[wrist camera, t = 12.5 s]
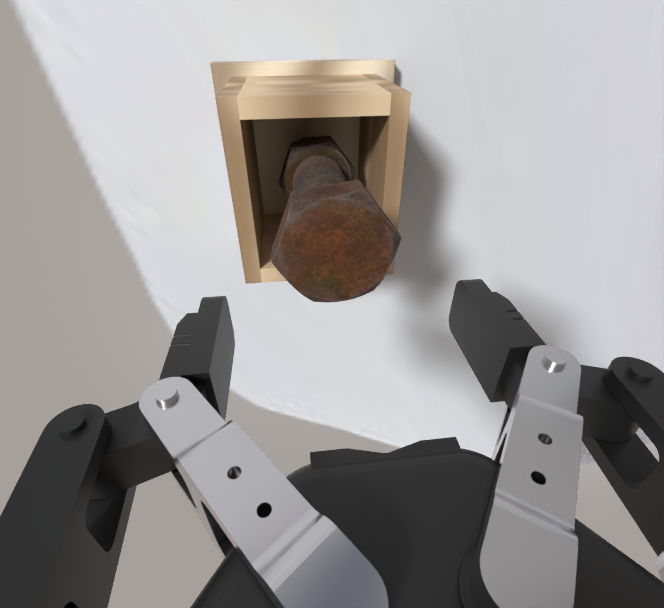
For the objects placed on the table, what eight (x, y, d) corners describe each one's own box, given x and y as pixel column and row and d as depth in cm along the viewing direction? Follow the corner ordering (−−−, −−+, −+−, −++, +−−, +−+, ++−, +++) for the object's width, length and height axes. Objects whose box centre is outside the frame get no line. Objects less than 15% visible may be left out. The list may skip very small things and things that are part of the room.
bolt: (329, 203, 31) (362, 318, 19) (267, 182, 29) (261, 293, 17) (358, 129, 28) (420, 211, 16) (291, 102, 26) (304, 169, 14)
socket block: (390, 59, 27) (438, 74, 19) (379, 221, 34) (410, 282, 26) (212, 62, 26) (184, 79, 18) (239, 229, 33) (227, 294, 25)
